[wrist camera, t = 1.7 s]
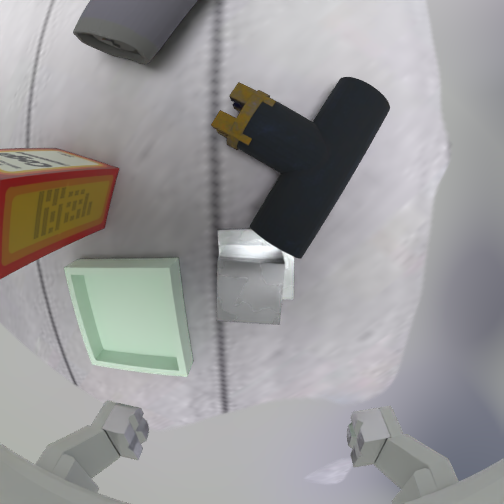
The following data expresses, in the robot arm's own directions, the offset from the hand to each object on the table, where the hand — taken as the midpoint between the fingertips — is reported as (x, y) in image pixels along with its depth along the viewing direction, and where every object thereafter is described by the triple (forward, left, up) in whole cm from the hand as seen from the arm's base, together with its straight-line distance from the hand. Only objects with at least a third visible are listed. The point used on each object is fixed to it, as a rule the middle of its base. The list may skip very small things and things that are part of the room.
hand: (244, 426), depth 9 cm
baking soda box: (-19, +9, -20) cm, 29 cm away
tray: (-14, -5, -19) cm, 25 cm away
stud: (0, 0, -19) cm, 19 cm away
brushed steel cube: (-1, 0, -19) cm, 19 cm away
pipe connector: (+3, +11, -19) cm, 22 cm away
